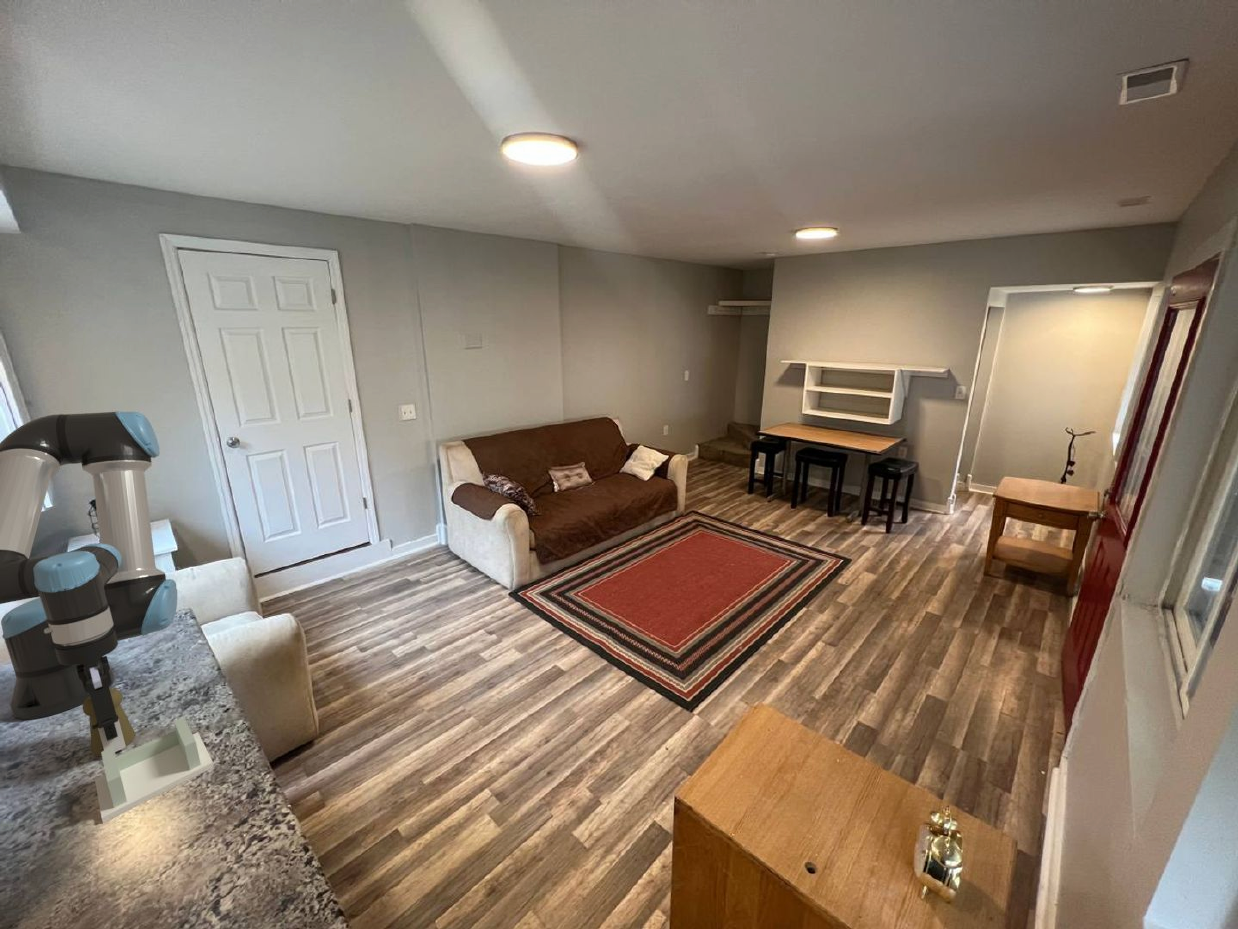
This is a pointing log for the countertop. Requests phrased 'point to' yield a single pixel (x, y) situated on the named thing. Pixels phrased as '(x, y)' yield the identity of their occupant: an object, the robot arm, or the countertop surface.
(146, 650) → the countertop surface
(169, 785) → the holder
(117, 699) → the brown rounded knob
